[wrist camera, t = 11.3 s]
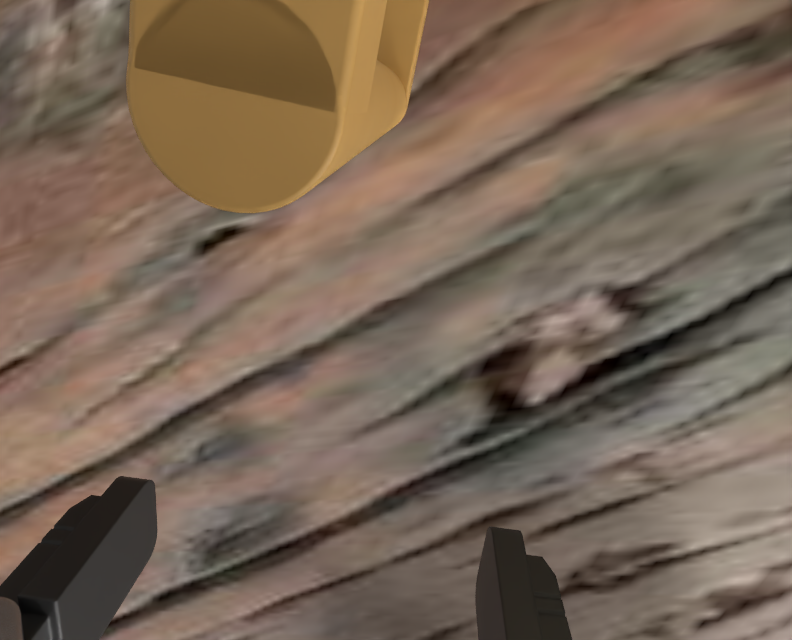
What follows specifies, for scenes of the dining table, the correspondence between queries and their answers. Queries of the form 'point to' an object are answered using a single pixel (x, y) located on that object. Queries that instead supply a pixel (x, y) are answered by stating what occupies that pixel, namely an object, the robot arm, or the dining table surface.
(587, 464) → the dining table surface
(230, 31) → the cupboard door
